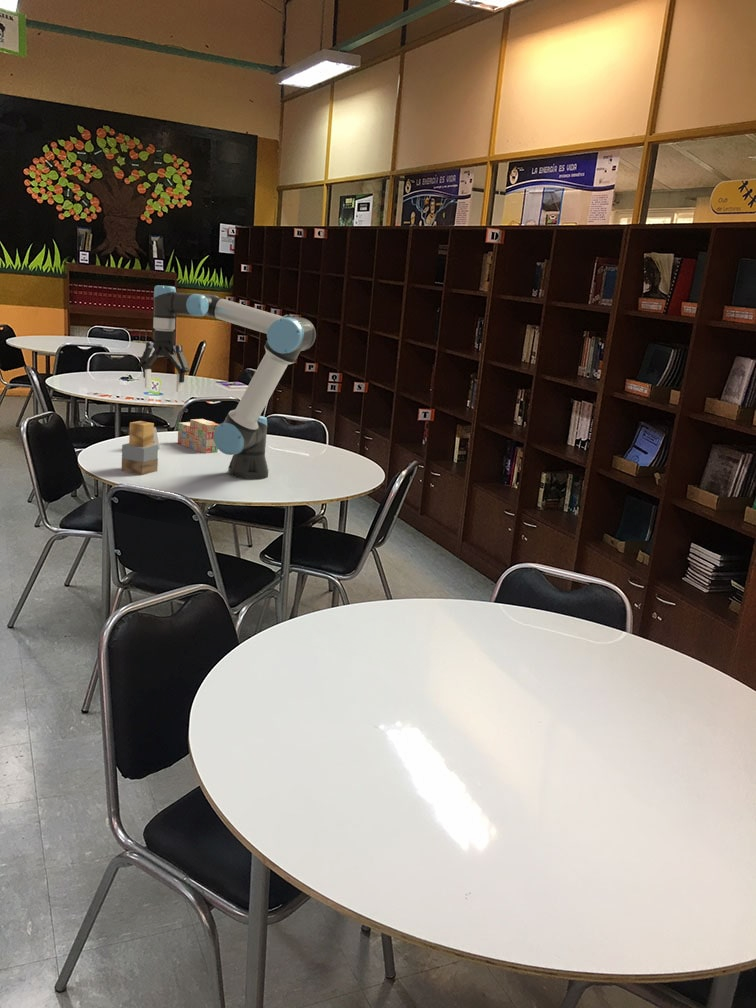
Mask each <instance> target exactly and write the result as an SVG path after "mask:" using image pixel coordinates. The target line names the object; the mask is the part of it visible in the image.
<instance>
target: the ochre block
mask: <svg viewBox="0 0 756 1008" xmlns="http://www.w3.org/2000/svg"><path fill="white" fill-rule="evenodd" d="M154 427H155V423H154V422H148V421H143V420H138V421H132V422H131V421H130V422H129V434H128V435H129V438H128V443H129V445H134V446H139V447H146V446H151V445H153V436H154Z"/></svg>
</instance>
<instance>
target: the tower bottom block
mask: <svg viewBox="0 0 756 1008" xmlns="http://www.w3.org/2000/svg"><path fill="white" fill-rule="evenodd" d="M158 463H159V458H157V459H153V460H150V461H146V462H139V461H134V460H128V459H123V458H122V457H121V472H125V473H130V474H134V475H140V476H144V475H148V474H152V473H156V472H158V466H159V464H158Z"/></svg>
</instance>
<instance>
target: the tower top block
mask: <svg viewBox="0 0 756 1008" xmlns="http://www.w3.org/2000/svg"><path fill="white" fill-rule="evenodd" d="M158 452H159V450H158V445H155V444H153V445H151V446H146V447H139V446H134V445H129V442H128V443H124V444H122V445H121V459H122V458H123V459H128V460H134V461H139V462H146V461H150V460H153V459H157V458H158V456H159V455H158V454H159V453H158ZM158 459H159V458H158Z"/></svg>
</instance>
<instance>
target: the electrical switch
mask: <svg viewBox="0 0 756 1008" xmlns="http://www.w3.org/2000/svg"><path fill="white" fill-rule="evenodd" d="M153 444H155V445H158V451H159V450H160V449H161V448H160V442H159V437H158V431H157V427H156V426H154V436H153Z"/></svg>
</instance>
